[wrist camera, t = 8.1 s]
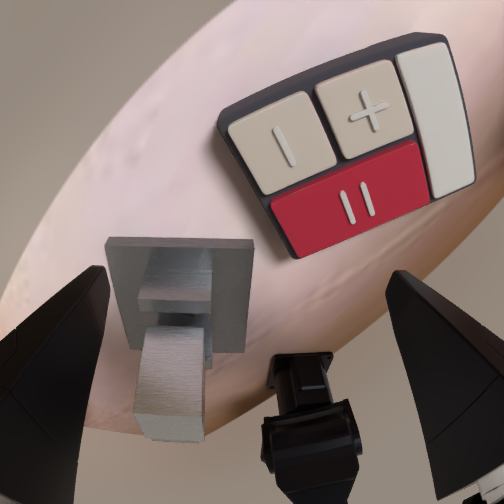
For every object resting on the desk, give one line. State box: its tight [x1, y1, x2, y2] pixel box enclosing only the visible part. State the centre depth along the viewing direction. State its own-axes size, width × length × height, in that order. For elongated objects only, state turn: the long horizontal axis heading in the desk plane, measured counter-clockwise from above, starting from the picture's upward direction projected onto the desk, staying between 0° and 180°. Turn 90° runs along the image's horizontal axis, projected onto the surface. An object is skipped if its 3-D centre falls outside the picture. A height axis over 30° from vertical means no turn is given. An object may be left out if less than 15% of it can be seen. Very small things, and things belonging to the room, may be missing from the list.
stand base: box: [105, 237, 254, 369], centre depth 25 cm, size 12×11×5 cm
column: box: [133, 325, 205, 443], centre depth 20 cm, size 4×4×7 cm
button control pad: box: [217, 32, 476, 259], centre depth 19 cm, size 11×4×15 cm
